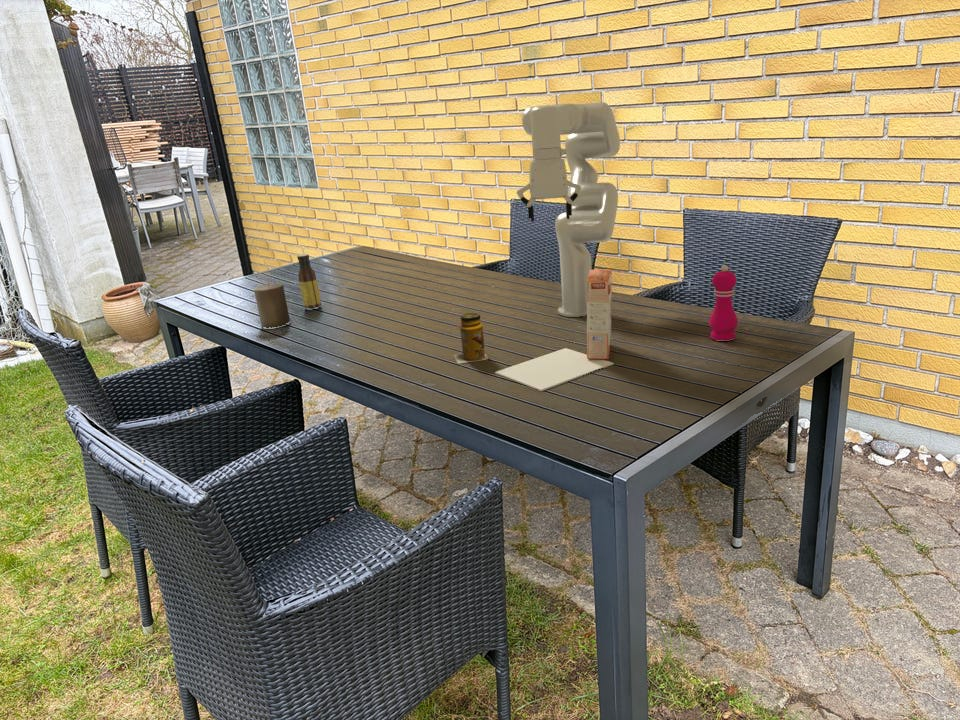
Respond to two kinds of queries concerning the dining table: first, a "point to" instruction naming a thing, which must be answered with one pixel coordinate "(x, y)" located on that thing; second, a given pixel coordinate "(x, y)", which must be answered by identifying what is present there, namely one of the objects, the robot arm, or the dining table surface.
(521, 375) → the mat
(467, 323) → the condiment
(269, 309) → the pillar candle
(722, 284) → the pepper mill
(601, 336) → the cracker box
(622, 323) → the dining table surface
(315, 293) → the sauce bottle
